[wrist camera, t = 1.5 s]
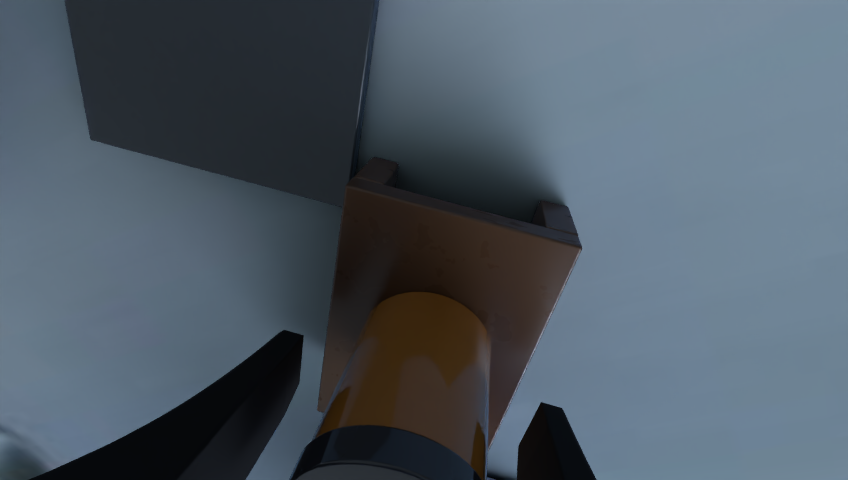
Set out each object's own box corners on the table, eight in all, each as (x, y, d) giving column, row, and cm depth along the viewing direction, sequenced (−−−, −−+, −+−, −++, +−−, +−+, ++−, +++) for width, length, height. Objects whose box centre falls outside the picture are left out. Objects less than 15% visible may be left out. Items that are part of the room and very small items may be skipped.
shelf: (487, 400, 19) (484, 460, 17) (341, 358, 19) (316, 411, 17) (568, 206, 14) (583, 247, 12) (372, 155, 15) (344, 184, 12)
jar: (473, 407, 15) (458, 609, 10) (352, 372, 15) (276, 553, 10) (512, 310, 13) (519, 505, 8) (371, 272, 13) (285, 435, 8)
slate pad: (352, 202, 16) (346, 208, 15) (103, 136, 16) (89, 140, 16) (399, -144, 11) (394, -152, 10) (41, -225, 11) (18, -237, 11)
